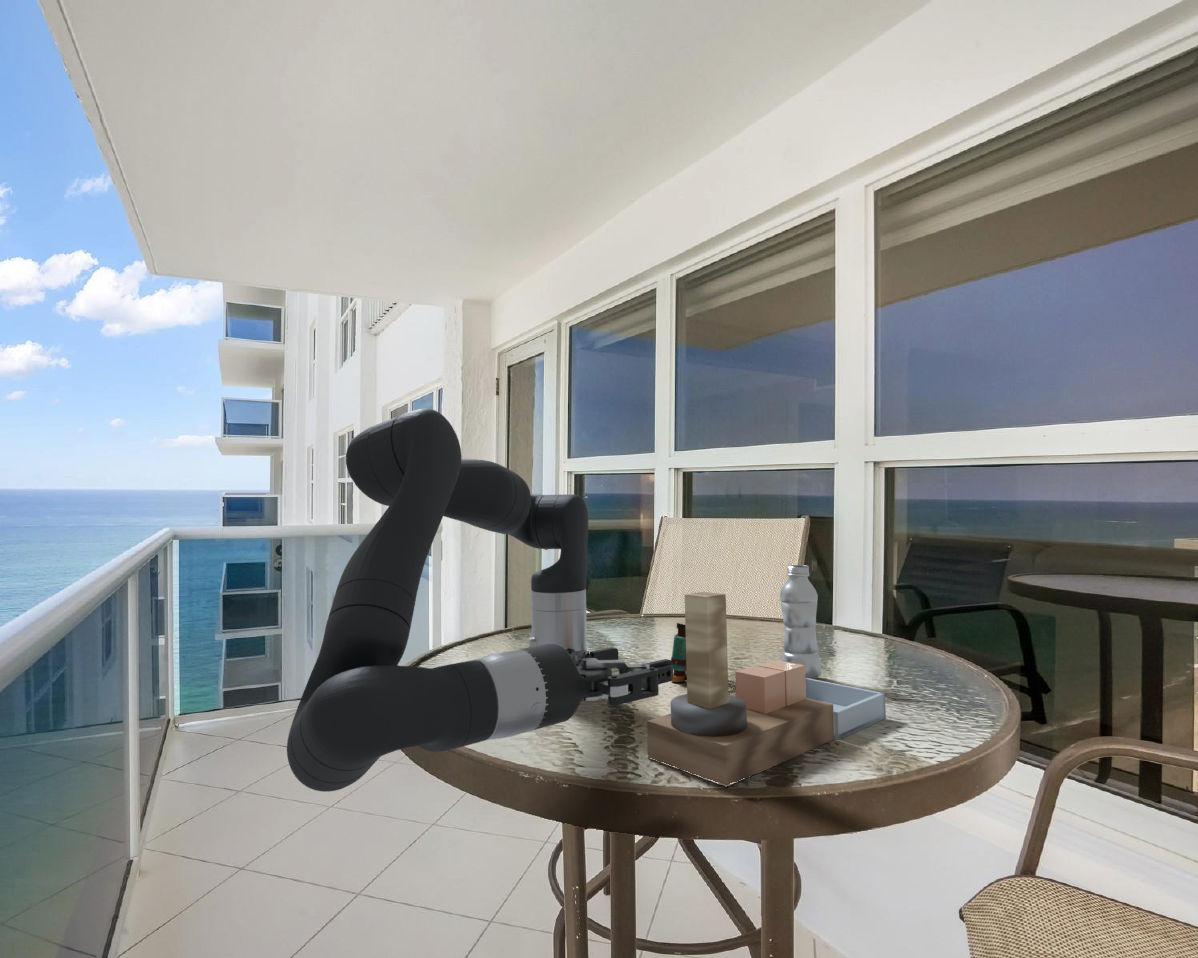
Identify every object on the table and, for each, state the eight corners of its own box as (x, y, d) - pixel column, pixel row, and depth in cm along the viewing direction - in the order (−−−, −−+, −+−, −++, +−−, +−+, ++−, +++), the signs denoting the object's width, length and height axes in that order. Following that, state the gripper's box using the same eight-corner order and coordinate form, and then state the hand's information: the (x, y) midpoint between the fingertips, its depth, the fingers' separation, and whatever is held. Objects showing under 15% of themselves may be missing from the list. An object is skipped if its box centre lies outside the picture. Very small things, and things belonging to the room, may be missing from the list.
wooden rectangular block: (726, 787, 72) (725, 745, 72) (647, 758, 81) (647, 720, 81) (834, 739, 87) (833, 704, 87) (757, 718, 96) (756, 686, 96)
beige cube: (787, 705, 87) (785, 670, 87) (758, 698, 90) (757, 665, 90) (805, 699, 90) (804, 665, 90) (777, 692, 93) (776, 660, 93)
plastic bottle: (824, 684, 114) (820, 567, 115) (783, 682, 116) (779, 567, 117) (819, 674, 121) (815, 564, 122) (780, 673, 122) (777, 564, 123)
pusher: (714, 742, 74) (710, 601, 74) (655, 723, 80) (652, 594, 81) (762, 723, 79) (758, 593, 80) (704, 708, 86) (700, 588, 87)
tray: (838, 739, 87) (837, 712, 87) (755, 717, 96) (755, 693, 97) (885, 718, 95) (884, 693, 95) (805, 699, 105) (804, 677, 105)
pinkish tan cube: (765, 713, 84) (764, 677, 84) (736, 706, 87) (735, 671, 87) (785, 706, 87) (784, 671, 87) (756, 699, 90) (755, 665, 90)
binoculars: (714, 633, 111) (664, 621, 117) (710, 696, 111) (660, 681, 117) (739, 625, 118) (691, 615, 124) (735, 684, 118) (687, 671, 124)
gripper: (565, 662, 57) (690, 636, 68) (480, 640, 68) (599, 621, 79) (566, 750, 57) (692, 711, 68) (480, 714, 68) (600, 685, 78)
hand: (642, 662), depth 73 cm, fingers open, 8 cm apart
